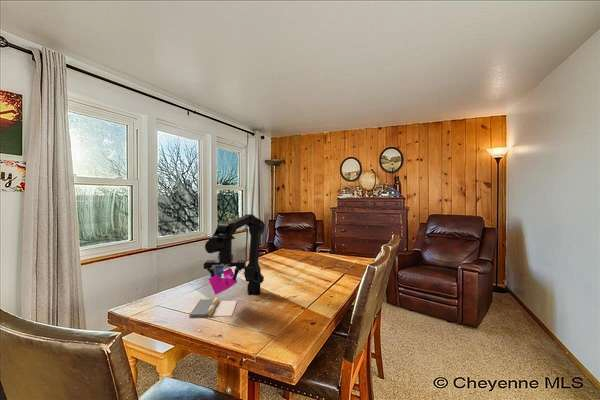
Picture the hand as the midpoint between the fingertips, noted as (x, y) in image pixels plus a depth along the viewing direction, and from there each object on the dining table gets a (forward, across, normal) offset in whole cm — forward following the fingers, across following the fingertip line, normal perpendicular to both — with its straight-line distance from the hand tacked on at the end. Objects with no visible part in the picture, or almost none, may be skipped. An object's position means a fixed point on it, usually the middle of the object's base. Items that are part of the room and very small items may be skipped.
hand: (225, 282), depth 133 cm
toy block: (+2, -2, +2) cm, 3 cm away
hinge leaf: (+12, +9, +1) cm, 15 cm away
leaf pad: (+12, 0, 0) cm, 12 cm away
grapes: (+12, +13, -45) cm, 49 cm away
